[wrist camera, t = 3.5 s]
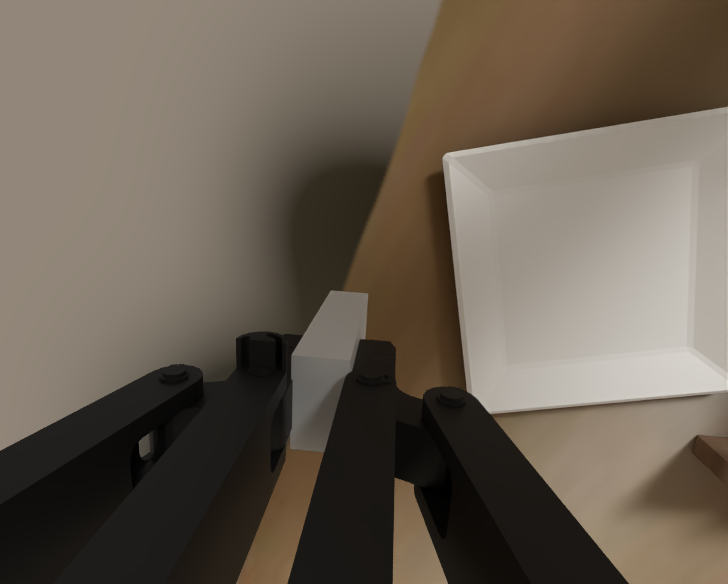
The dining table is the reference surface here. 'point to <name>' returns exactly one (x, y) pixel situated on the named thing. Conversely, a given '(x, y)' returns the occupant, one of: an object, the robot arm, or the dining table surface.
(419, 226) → the dining table surface
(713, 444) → the overhang shelf
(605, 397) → the plate
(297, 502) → the dining table surface
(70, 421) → the robot arm
